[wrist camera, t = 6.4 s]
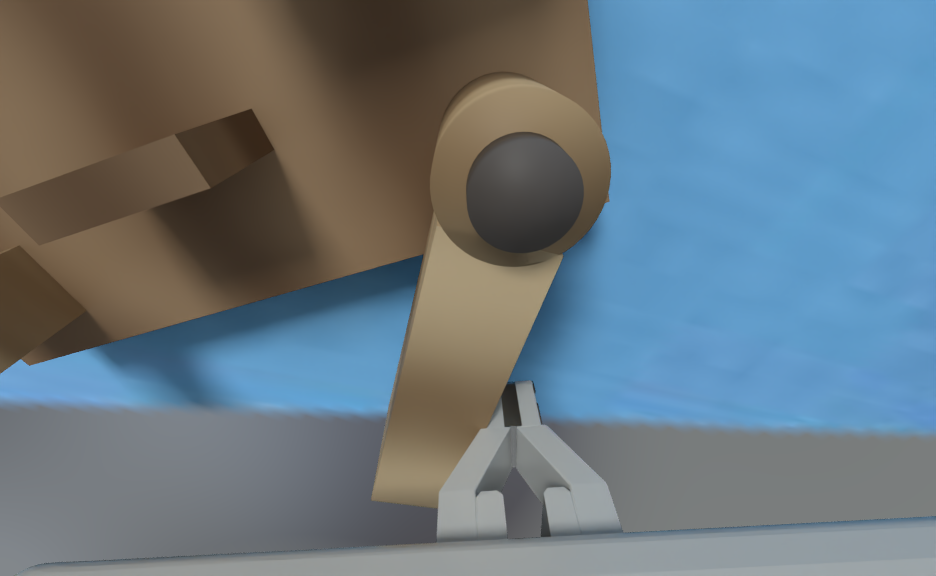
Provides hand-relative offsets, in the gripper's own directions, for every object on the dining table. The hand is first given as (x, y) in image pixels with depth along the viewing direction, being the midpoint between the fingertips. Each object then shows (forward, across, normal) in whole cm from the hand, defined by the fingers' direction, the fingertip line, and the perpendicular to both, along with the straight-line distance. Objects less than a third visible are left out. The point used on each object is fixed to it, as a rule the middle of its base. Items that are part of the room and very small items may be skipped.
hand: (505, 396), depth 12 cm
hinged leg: (+2, +1, -3) cm, 4 cm away
